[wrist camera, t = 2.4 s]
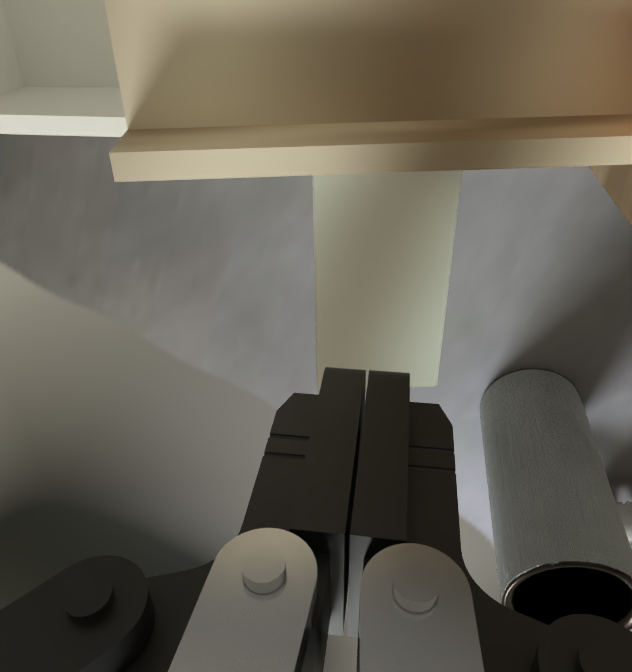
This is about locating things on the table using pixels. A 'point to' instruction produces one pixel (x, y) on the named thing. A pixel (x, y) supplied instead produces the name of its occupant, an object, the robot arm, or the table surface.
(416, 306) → the lever
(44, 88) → the white open box
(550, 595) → the planter
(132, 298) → the table surface
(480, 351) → the table surface
